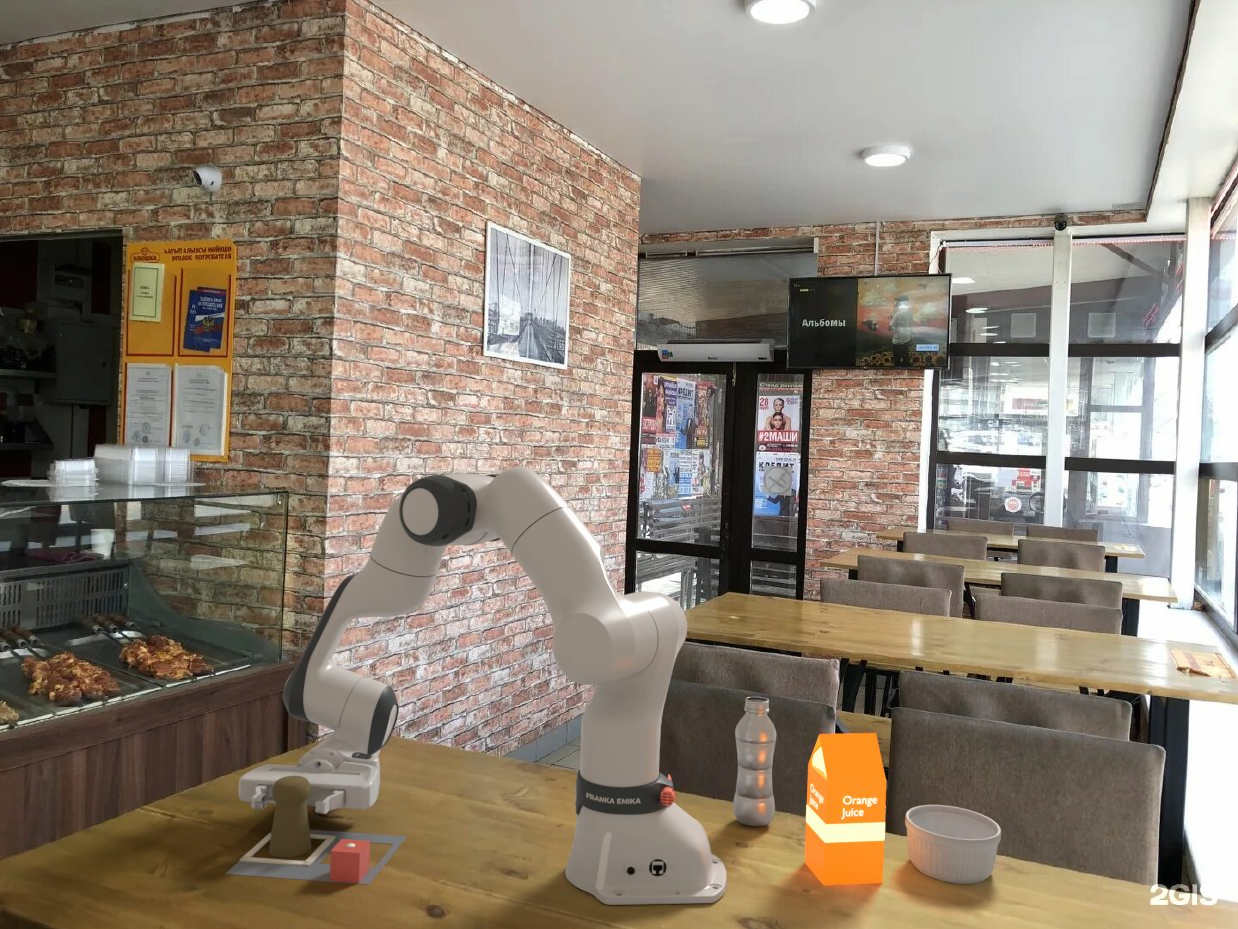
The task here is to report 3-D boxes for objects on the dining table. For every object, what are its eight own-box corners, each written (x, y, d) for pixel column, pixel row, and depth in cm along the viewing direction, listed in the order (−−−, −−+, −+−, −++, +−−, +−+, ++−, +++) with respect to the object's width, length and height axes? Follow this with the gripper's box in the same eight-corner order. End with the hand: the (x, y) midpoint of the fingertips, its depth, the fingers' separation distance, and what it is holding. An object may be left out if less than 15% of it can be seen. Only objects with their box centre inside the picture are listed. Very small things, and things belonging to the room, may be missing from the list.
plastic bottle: (777, 832, 154) (781, 705, 153) (734, 830, 154) (738, 704, 153) (771, 816, 160) (775, 695, 160) (730, 815, 160) (734, 693, 160)
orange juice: (883, 883, 137) (888, 741, 136) (823, 886, 135) (828, 742, 135) (860, 859, 145) (865, 725, 144) (803, 861, 143) (808, 726, 143)
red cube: (369, 870, 134) (370, 840, 134) (359, 883, 130) (359, 852, 130) (341, 868, 135) (341, 838, 134) (329, 880, 131) (330, 850, 131)
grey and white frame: (406, 841, 146) (406, 835, 146) (369, 890, 130) (369, 883, 130) (277, 832, 148) (277, 826, 148) (225, 879, 132) (225, 872, 132)
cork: (286, 867, 136) (288, 788, 136) (258, 856, 139) (260, 779, 139) (321, 852, 141) (322, 777, 141) (293, 842, 144) (294, 768, 144)
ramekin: (1012, 868, 143) (1014, 821, 143) (978, 898, 133) (980, 848, 133) (925, 842, 152) (927, 797, 152) (887, 868, 142) (889, 820, 142)
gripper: (262, 749, 154) (218, 780, 140) (389, 757, 152) (357, 788, 138) (261, 789, 154) (217, 823, 140) (388, 797, 152) (356, 833, 138)
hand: (287, 806), depth 139 cm, fingers open, 8 cm apart
